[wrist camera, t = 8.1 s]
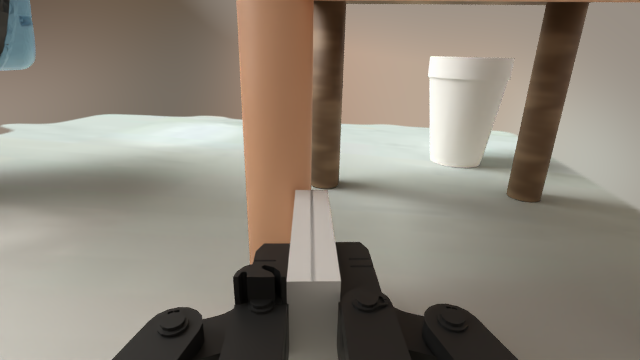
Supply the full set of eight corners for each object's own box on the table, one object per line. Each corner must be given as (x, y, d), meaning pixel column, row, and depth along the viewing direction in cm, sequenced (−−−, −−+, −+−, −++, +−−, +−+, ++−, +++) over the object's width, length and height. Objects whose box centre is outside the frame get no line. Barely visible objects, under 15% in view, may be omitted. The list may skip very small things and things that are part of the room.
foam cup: (403, 157, 48) (413, 55, 44) (445, 148, 53) (458, 57, 49) (465, 176, 41) (486, 57, 37) (507, 164, 46) (529, 58, 42)
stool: (218, 339, 17) (166, -211, 10) (304, 176, 40) (305, -27, 33) (808, 408, 14) (1265, -284, 7) (535, 190, 37) (587, -28, 30)
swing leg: (632, 316, 18) (778, -58, 13) (681, 364, 15) (895, -90, 10) (261, 281, 20) (247, -52, 15) (244, 318, 17) (220, -77, 12)
